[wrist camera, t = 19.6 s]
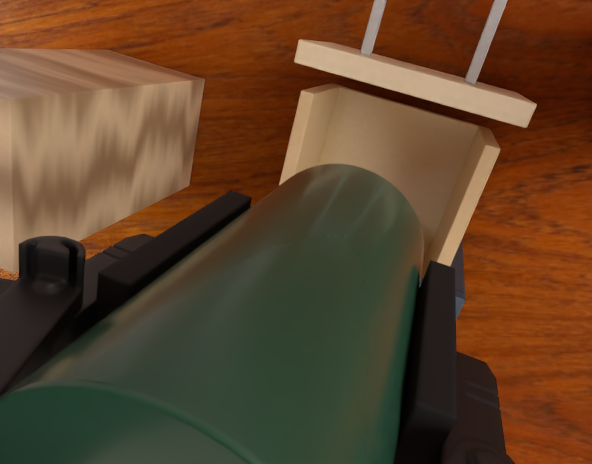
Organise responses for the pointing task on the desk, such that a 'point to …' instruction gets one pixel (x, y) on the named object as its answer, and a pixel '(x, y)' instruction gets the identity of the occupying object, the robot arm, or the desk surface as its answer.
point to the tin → (246, 343)
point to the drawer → (406, 129)
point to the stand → (88, 141)
